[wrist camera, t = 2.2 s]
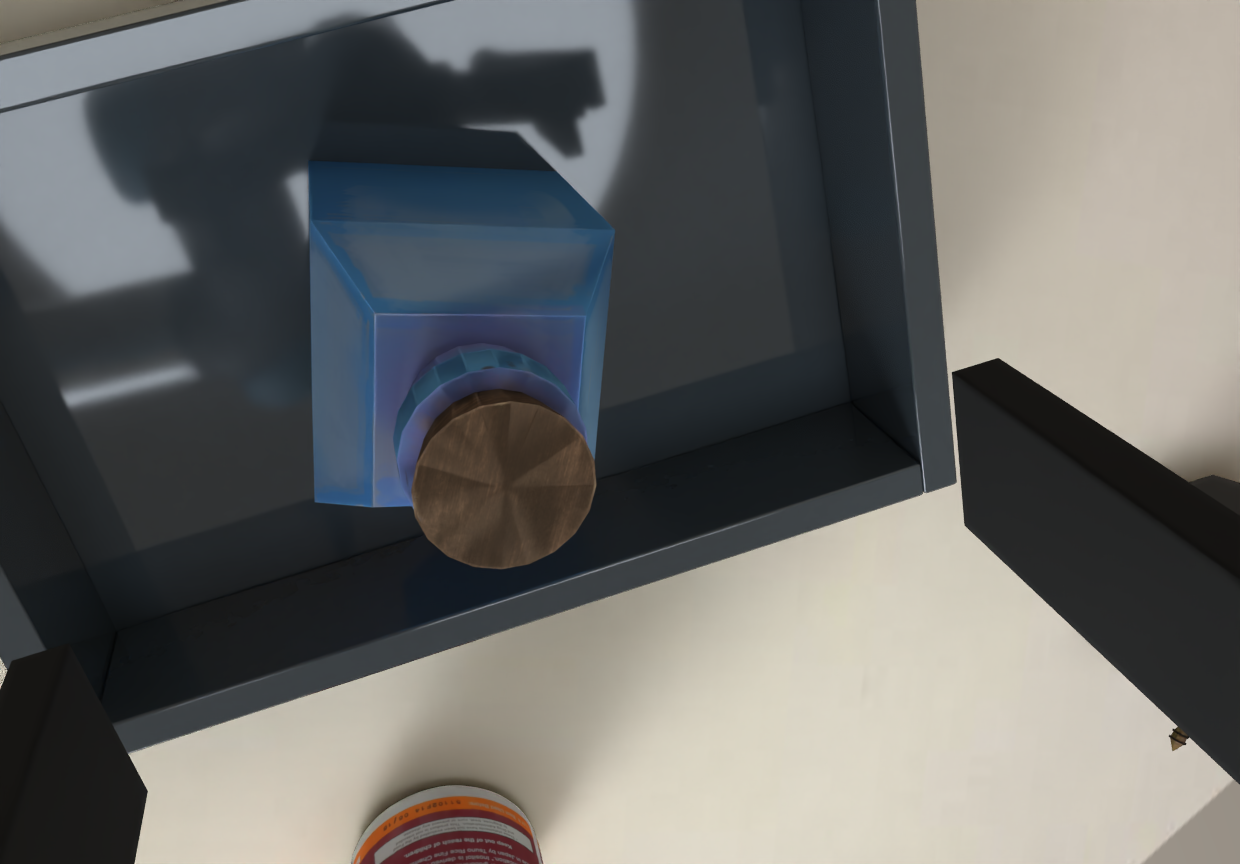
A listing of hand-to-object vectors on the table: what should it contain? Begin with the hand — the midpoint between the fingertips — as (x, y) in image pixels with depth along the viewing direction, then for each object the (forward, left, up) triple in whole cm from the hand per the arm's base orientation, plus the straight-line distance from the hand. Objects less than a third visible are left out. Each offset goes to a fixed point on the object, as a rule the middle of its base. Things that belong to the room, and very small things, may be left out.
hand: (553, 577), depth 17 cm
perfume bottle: (0, 0, -15) cm, 15 cm away
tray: (0, 0, -16) cm, 16 cm away
